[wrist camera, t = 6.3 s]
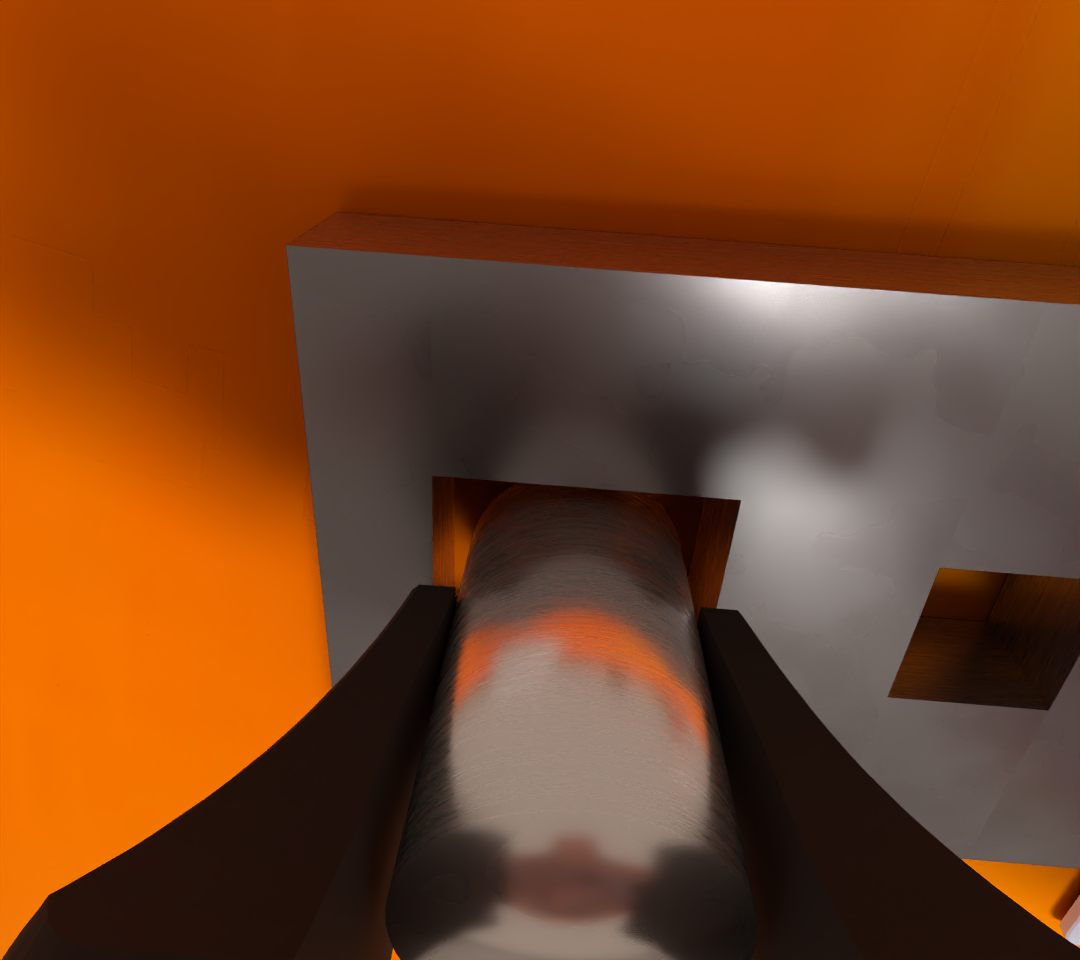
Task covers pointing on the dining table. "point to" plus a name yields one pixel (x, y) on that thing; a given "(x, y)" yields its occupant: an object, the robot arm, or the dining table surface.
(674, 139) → the dining table surface
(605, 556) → the cylinder
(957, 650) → the fitting block
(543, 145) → the dining table surface
